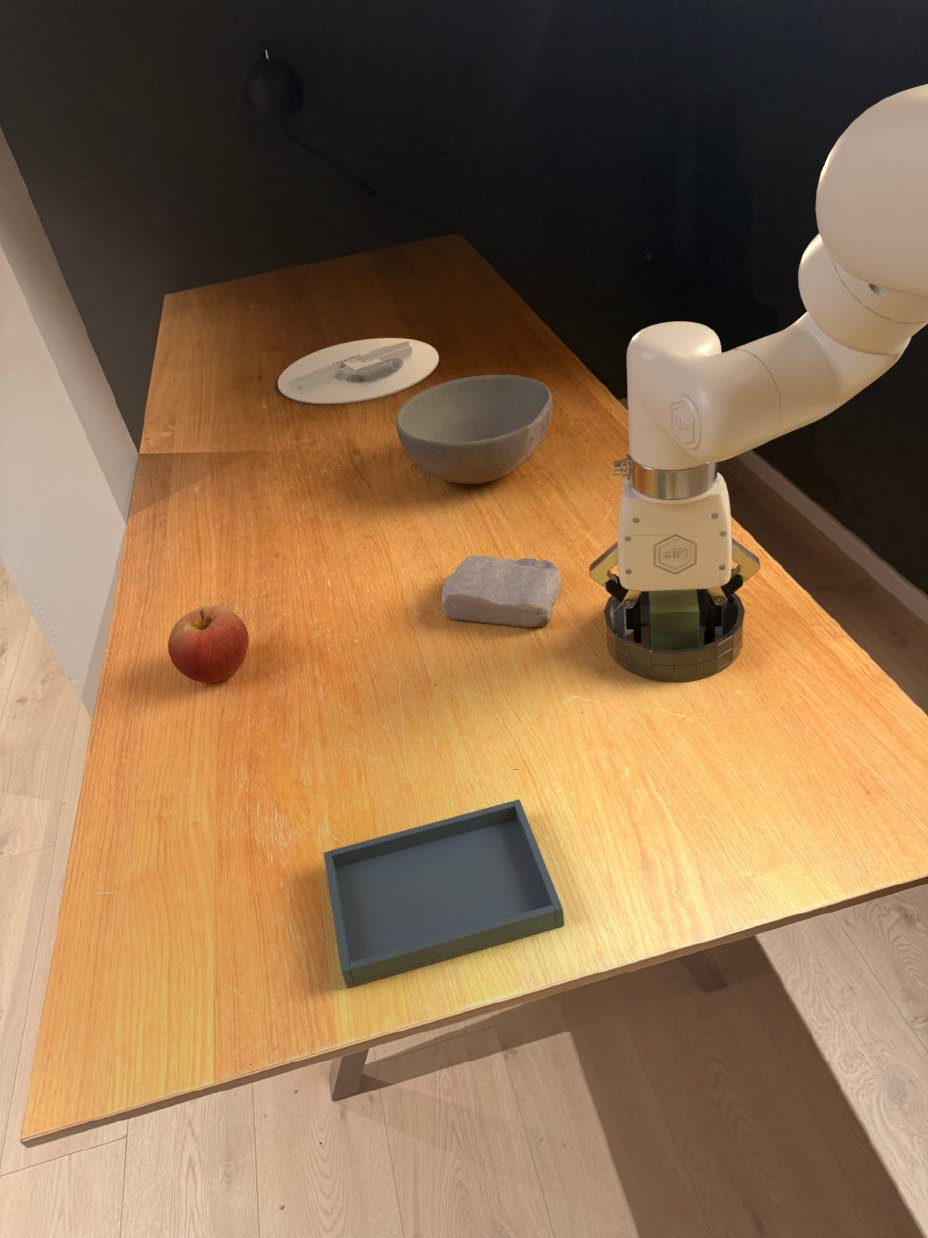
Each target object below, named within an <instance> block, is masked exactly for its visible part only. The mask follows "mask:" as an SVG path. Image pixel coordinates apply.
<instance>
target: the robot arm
mask: <svg viewBox="0 0 928 1238" xmlns="http://www.w3.org/2000/svg"><path fill="white" fill-rule="evenodd" d="M815 196H816V197H815V216H816V225H817V229H818V233H817V234H816V236H815V237H814V238H813V239H812V240H811V241H810V242H809V244H808V245H807V247H806V248H805V250H804V252H803V254H802V256H801V260H800V263H799V267H798V272H797V273H798V274H797V280H798V290H799V294H800V299H801V300H802V303H803V305H804V308H805V309H806V312H805V313H803V315H802V316H801V317H800V318H798V319H797V320H796V321H794V322H793V323H792V324H791V325H789V326H787V327H786V328H785V329H783V330H780V331H778V332H775V333H772V334H769V335H766V336H764V337H761V338H758V339H756V340H753V341H751V342H750V341H749V342H748V343H745V344H743V345H740V346H737V347H735V348H732V349H730V350H728V351H724V352H722V345H721V341H720V338H719V336H718V334H717V333H716V332H715V331H714V330H713V329H711V328H710V327H709V326H707V325H705V324H702V323H698V322H693V321H684V320H683V321H681V320H680V321H679V320H678V321H666V322H660V323H657V324H653V325H650V326H647V327H645V328H642V329H641V330H640V331H638V332H637V333H636V334H635V335H633V336H632V338H631V340H629V344H628V346H627V349H626V383H627V385H626V386H627V421H628V422H627V423H628V425H627V426H628V449H629V450H628V451H629V452H628V453H629V454H625V457H622V458H621V459H615V460H614V459H613V460H612V472H613V476H621V477H626V478H625V480H624V481H623V484H622V488H621V494H620V499H619V506H618V518H617V541H615V543H614V544H612V545H611V546H609V548H608V549H606V550H605V551H604V552H603V553H602V554H601V555H600V556H598V558H596V559H595V560H594V561H593V562H592V563H591V564H590V565H589V567H588V576H589V578H591V579H592V580H593V581H594V582H596V583H597V585H600V586H601V587H603V588H605V591H606V592H607V593H608V594H609V595H610V596H611V595H612V596H614V597H615V598H616V599H618V600H619V601H620V602H622V605H623V607H624V608H626V630H629V629H633V630H634V642H638V641H639V640H641V609H640V594H641V592H642V591H671V590H695V589H707V591H705V628H706V634H707V638H709V639H715V627H721V626H722V607H723V605H724V604H725V603H726V602H727V598H728V597H729V596H730V595H732V594H733V593H734V592H735V593H736V592H737V591H738V590H739V589H740V588H742V587H743V586H744V583H745V582H746V581H749V580H750V579H751V578H752V577H753V576H754V575H756V574H757V573H758V572H759V571H760V570H761V568H762V567H761V563H760V558H759V557H758V556H757V555H756V554H754V553H753V552H752V551H750V550H749V549H748V548H746V547H745V546H744V545H742V544H741V543H740V542H738V541H737V540H735V538H733V537H732V536H733V535H732V514H731V503H730V495H729V491H728V487H727V483H726V481H725V478H724V477H723V475H722V474H720V473H719V472H718V471H719V462H723V461H726V460H729V459H733V458H734V457H737V456H739V455H742V454H744V453H746V452H748V451H749V452H750V451H751V450H753V449H755V448H757V447H761V446H762V445H765V444H767V443H768V442H770V441H772V440H775V439H777V438H780V437H782V436H784V435H787V434H789V433H791V432H793V431H797V430H798V429H801V428H803V427H806V426H808V425H811V424H813V423H815V422H817V421H819V420H821V419H823V418H824V417H826V416H828V415H830V414H831V413H833V412H834V411H836V410H838V409H839V408H840V407H841V406H843V405H844V404H846V403H847V402H849V401H850V400H852V399H853V398H854V397H855V396H856V395H858V394H859V393H861V392H862V391H863V390H865V388H867V387H868V386H870V385H871V384H872V383H874V382H875V381H877V380H878V379H879V378H880V377H882V376H883V375H884V374H885V373H887V372H888V371H889V370H890V369H891V368H892V367H893V366H894V365H895V364H896V363H897V362H898V361H899V359H900V358H901V357H902V356H903V354H904V352H905V350H906V349H907V348H908V345H909V344H910V342H911V339H912V337H913V336H914V335H916V334H917V333H918V332H919V331H920V330H921V329H923V328H924V327H926V325H928V83H926V84H923V85H918V86H916V87H913V88H912V87H911V88H909V89H908V88H907V89H906V90H902V91H900V92H896V93H895V94H893V95H890V96H887V97H885V98H883V99H881V100H879V102H877V103H875V104H873V105H872V106H870V107H868V108H867V109H866V110H864V112H863V113H861V114H860V115H859V116H858V117H856V118H855V119H854V120H853V121H852V122H851V123H850V124H849V126H848V127H847V128H846V129H845V130H844V131H843V133H842V134H841V135H840V136H839V137H838V139H837V140H836V142H835V144H834V145H833V147H832V148H831V150H830V152H829V153H828V156H827V158H826V161H825V163H824V166H823V167H822V169H821V172H820V176H819V179H818V184H817V188H816V195H815ZM733 562H734V563H736V564H737V565H736V566H735V567H734V568H732V563H733ZM615 566H617V571H618V575H617V574H616V573H612V572H611V571H610V570H612V569H613V568H614V567H615Z"/></svg>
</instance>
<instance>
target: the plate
mask: <svg viewBox="0 0 928 1238" xmlns="http://www.w3.org/2000/svg"><path fill="white" fill-rule="evenodd" d="M439 362H440V356H439V352H438V351H437V349H436V348H435V347H433V346H432V345H430V344H428V343H426V342H423V341H420V340H417V339H411V338H403V337H401V338H400V337H382V338H381V337H378V338H367V339H359V340H354V341H348V342H344V343H339V344H335V345H332V346H329V347H325V348H322V349H319V350H316V351H314V352H312V353H310V354H309V353H308V355H305V356H303V357H301V358H299V359H298V360H296V361H294V362H293V363H291V364H290V365H289V366H288V367H286V369H284V370H283V372H281V374H280V375H279V377H278V380H277V387H278V390H279V392H280V393H281V394H282V395H283V396H285V397H286V398H288V399H290V400H291V401H292V400H293V401H296V402H298V403H303V404H311V405H344V404H345V405H346V404H352V403H353V404H354V403H359V402H365V401H370V400H377V399H381V398H383V397H387V396H389V395H393V394H396V393H398V392H401V391H403V390H406V389H409V388H411V387H412V386H415V385H417V384H418V383H420V382H422V381H423V380H424V379H426V378H427V377H429V376H430V375H431V374H432V373H433V372H434V370H435V369H436V368H437V367H438V364H439Z"/></svg>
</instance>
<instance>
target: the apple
mask: <svg viewBox="0 0 928 1238" xmlns="http://www.w3.org/2000/svg"><path fill="white" fill-rule="evenodd" d="M170 631H171V632H170V634H169V638H168V642H167V651H168V655H169V658H170V660H171V662H172V664H173V666H174V668H176V669H177V670H178V671H179V672H180V673H181V674H182V675H183V676H185V677H186V678H187V679H189V680H192V681H195V682H199V683H207V684H208V683H215V682H216V683H217V682H222V681H226V680H228V679H229V678H231V677H232V676H234V675H235V673H237V672H238V670H239V669H241V666H242V665H243V663H244V661H245V660H246V656H247V653H248V649H249V643H250V638H249V637H250V636H249V631H248V628H247V626H246V624H245V623H244V621H243V620H242V619H241V617H240V616H238V614H236V613H235V612H234V611H233V610H231V609H230V608H228V607H225V606H223V605H217V604H209V605H204V606H201V607H199V608H195V609H193V610H192V611H191V610H190V612H188V613H186V614H185V615H183V616H182V617H181V618H179V620H178V621H177V622H176V623H175V624H174V626H173V627H172V629H171V630H170Z"/></svg>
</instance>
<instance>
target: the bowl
mask: <svg viewBox="0 0 928 1238" xmlns="http://www.w3.org/2000/svg"><path fill="white" fill-rule="evenodd" d="M552 397H553V396H552V393H551V390H550V388H549V387H548V386H547V385H546V384H545V383H543V382H542V381H539V380H538V379H535V378H531V377H527V376H521V375H515V374H484V375H473V376H468V377H460V378H456V379H452V380H447V381H444V382H441V383H439V384H435V385H433V386H430V387H428V388H425V389H423V390H421V391H419V392H417V393H415V394H414V395H412V396H411V397H410V398H408V399H407V400H406V401H405V402H403V404H402V405H401V406H400V407H399V409H398V411H397V413H396V415H395V416H396V417H395V426H396V427H395V428H396V432H397V436H398V440H399V442H400V444H401V447H402V449H403V451H404V452H405V454H406V455H407V457H408V458H409V459H410V460H411V462H412V463H413V464H414V465H415V466H416V467H417V468H418V469H420V470H421V471H423V472H424V473H425V474H427V475H429V476H430V477H433V478H435V479H437V480H440V481H443V482H448V483H455V484H463V485H477V484H483V483H489V482H492V481H496V480H499V479H501V478H504V477H506V476H508V475H510V474H513V473H514V472H515V471H517V470H518V469H519V468H520V467H522V466H523V465H524V464H526V463H527V462H529V460H530V459H531V458H532V457H533V456H534V455H535V453H536V452H537V451H538V449H539V448H540V446H541V444H542V442H543V441H544V439H545V438H546V435H547V433H548V431H549V428H550V425H551V420H552V417H553V398H552Z"/></svg>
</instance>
